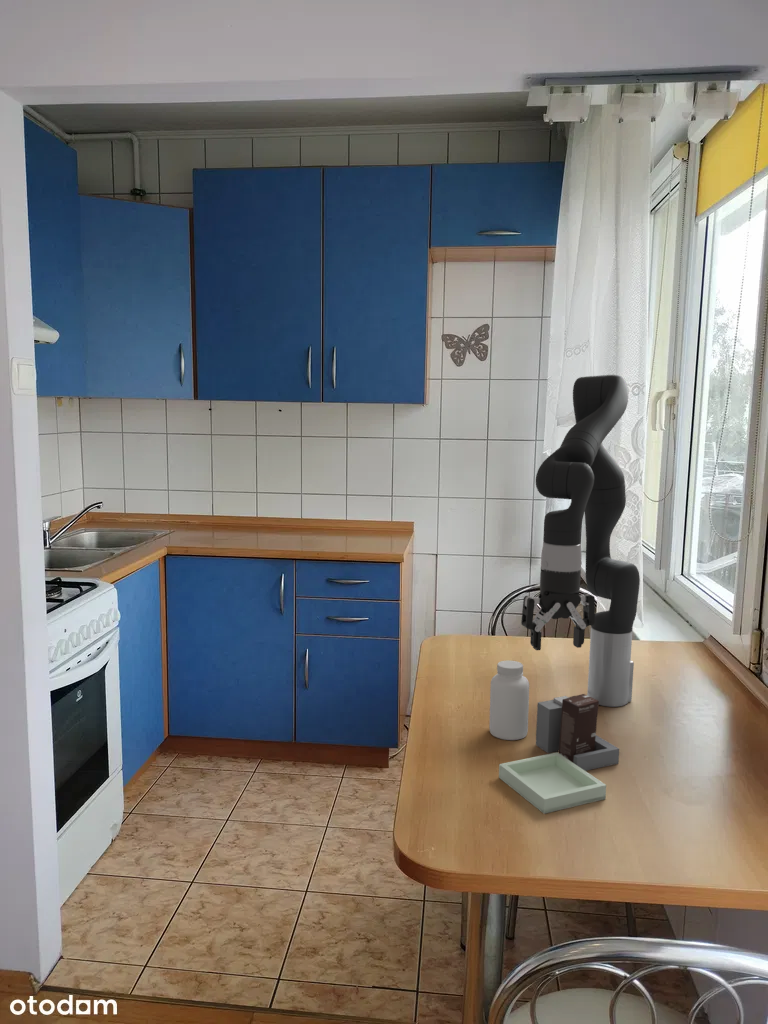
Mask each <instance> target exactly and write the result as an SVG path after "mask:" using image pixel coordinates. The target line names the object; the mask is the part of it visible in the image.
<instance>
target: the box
mask: <svg viewBox="0 0 768 1024" xmlns="http://www.w3.org/2000/svg"><path fill="white" fill-rule="evenodd" d="M569 697H570V698H566V699H563V700H562V714H561V726H560V738H559V751H557V752H558V753H559V754H561V755H562V756H564V757H565V758H567V759H568V760H570V761H571V762H573V760H574V755H578V754H583V753H588V752H593V751H594V749H595V738H596V735H597V725H598V723H597V722H598V713H599V705H598V704H599V701H598V700H596V699H594V698H592V697H589V696H587V694H585V693H582V694H577V695H572V696H569Z"/></svg>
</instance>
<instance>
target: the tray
mask: <svg viewBox="0 0 768 1024" xmlns="http://www.w3.org/2000/svg"><path fill="white" fill-rule="evenodd" d="M558 752H559V751H555V752H550V753H546V754H543V755H537V756H533V757H527V758H524V759H519V760H518V759H517V760H513V761H508V762H503V763H499V765H498V778H499V779H500V780H501V781H503V782H504V783H505V784H506V785H508V786H509V787H510V788H511V789H512V790H514V791H515V792H516V793H517V794H519V796H521V797H522V798H524V799H525V801H528V803H530V804H531V805H532V806H533V807H535V808H536V809H537V810H538V811H540V812H541V813H543V815H545V814H550V813H552V812H553V813H554V812H557V811H562V810H566V809H571V808H573V807H578V806H582V805H587V804H590V803H595V802H598V801H599V802H600V801H602V800H606V795H607V794H606V793H607V784H606V783H604V782H602V781H601V780H600V779H598V778H596V777H595V776H594V775H592V774H591V773H589V772H587V771H585V770H583V769H582V768H580V767H579V766H577V765H576V764H574V763H573V762H571V761H570V760H568V759H567V758H565V757H564V756H562V755H561V754H559V753H558Z"/></svg>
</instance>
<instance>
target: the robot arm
mask: <svg viewBox="0 0 768 1024" xmlns="http://www.w3.org/2000/svg"><path fill="white" fill-rule="evenodd" d="M628 388H629V387H628V383H627V381H626V379H625V378H624V377H623V376H622V375H619V374H603V375H601V374H600V375H589V376H580V377H577V378H576V379H575V381H574V384H573V387H572V402H573V403H572V404H573V413H574V419H575V424H574V425H573V426H572V427H571V428H569V430H568V431H567V433H566V434H565V436H564V438H563V440H562V442H561V444H560V446H559V447H558V448H557V449H556V450H555V451H554V452H553V453H552V454H550V455H549V456H548V457H547V458H545V459H544V461H542V463H541V464H540V466H539V467H538V469H537V472H536V475H535V487H536V489H537V491H538V493H539V494H540V495H541V496H543V497H545V498H549V499H557V500H558V499H560V500H561V499H562V500H563V499H564V500H571V501H570V505H569V506H568V507H567V508H566V509H559V510H553V511H549V512H547V513H545V516H544V520H543V538H542V539H543V543H542V546H541V547H542V549H541V554H540V556H541V557H540V572H539V573H540V577H539V580H540V581H539V595H538V596H534V597H533V596H529V595H524V597H523V602H522V612H521V620H520V621H521V623H520V624H521V625H522V626H523V627H524V628H526V629H527V630H530V645H531V646H532V648H533V649H534V650H535V651H541V648H542V631H541V630H542V628H544V626H545V625H546V624H547V623H549V621H550V620H551V619H552V620H558V619H570V620H571V621H572V622H573V624H574V625H575V626H573V635H572V637H573V640H572V644H573V646H574V647H575V648H582V645H584V644H585V631H586V628H587V627H590V636H589V637H590V638H589V640H590V641H589V657H588V659H589V660H588V674H587V675H588V676H587V677H588V678H587V693H586V695H587V696H589V697H592V698H594V699H596V700H598V701H599V704H598V706H599V705H600V706H603V707H613V708H615V707H623V706H625V705H627V704H628V703H629V702H632V701H633V700H632V697H633V683H634V668H635V667H634V665H635V663H634V661H633V660H632V659H631V658H632V645H633V644H632V643H633V642H632V641H633V640H632V639H633V627H634V623H635V619H636V617H637V610H638V602H639V593H640V585H641V584H640V581H641V579H640V577H641V576H640V573H639V572H640V571H639V569H638V567H637V566H636V565H635V564H634V563H632V562H628V561H623V560H619V559H614V558H612V557H611V549H610V547H611V536H612V533H613V531H614V530H615V527H616V526H617V524H618V522H619V520H620V518H621V517H622V515H623V513H624V510H625V508H626V504H627V495H626V493H627V492H626V483H625V481H626V480H625V476H624V472H623V470H622V468H621V467H620V465H619V464H618V462H617V461H616V459H615V458H614V457H613V456H612V455H611V453H610V452H609V451H608V449H607V448H606V447H605V445H604V444H603V442H604V440H605V439H606V437H607V436H608V435H609V433H610V432H611V431H612V430H613V428H614V427H615V426H616V425H617V423H618V422H619V421H620V419H621V418H622V417H623V415H624V414H625V412H626V410H627V407H628V405H629V404H628V403H629V389H628ZM583 519H584V520H583ZM583 521H585V522H584V524H585V583H586V586H587V587H586V588H587V589H588V592H584V593H583V594H580V589H581V576H582V575H581V574H582V572H581V571H582V547H581V546H582V527H583ZM589 592H590V593H589ZM595 596H596V597H598V598H602V599H605V600H609V601H610V603H609V604H610V606H609V608H608V610H604V611H603V610H602V611H598V612H596V610H595V609H596V607H595V606H596V605H595V604H596V603H595V601H596V599H595ZM580 604H581V605H582V606H583V607H582V615H583V616H581V614H580V613H579V612H578V609H577V608H578V606H579V605H580ZM537 605H539V607H540V608H539V610H538V611H536V613H535V615H534V611H535V609H536V608H537Z"/></svg>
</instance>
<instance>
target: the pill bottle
mask: <svg viewBox="0 0 768 1024" xmlns="http://www.w3.org/2000/svg"><path fill="white" fill-rule="evenodd" d="M496 665H497V667H496V672H497V673H496V674H494V676H493V677H491V680H490V692H489V693H490V694H489V732H490V734H491V735H492V736H493V737H494V738H497V739H499V740H500V739H501V740H503V741H504V740H505V741H506V740H507V741H516V740H522V739H524V738H525V737H526V736H527V735H528V730H529V702H530V682H529V680H528V678H527V677H526V676H524V664H523V663H522V662H519V661H516V660H502V661H498V663H497V664H496Z"/></svg>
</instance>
